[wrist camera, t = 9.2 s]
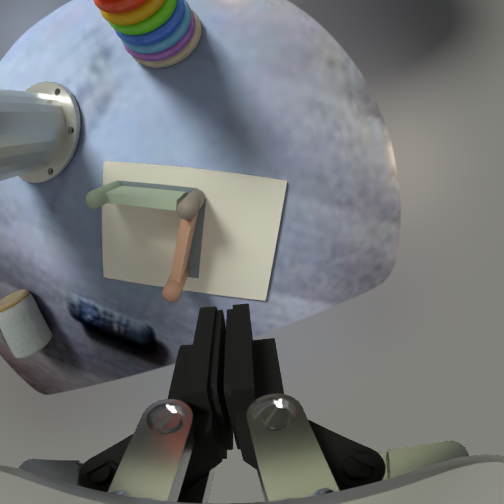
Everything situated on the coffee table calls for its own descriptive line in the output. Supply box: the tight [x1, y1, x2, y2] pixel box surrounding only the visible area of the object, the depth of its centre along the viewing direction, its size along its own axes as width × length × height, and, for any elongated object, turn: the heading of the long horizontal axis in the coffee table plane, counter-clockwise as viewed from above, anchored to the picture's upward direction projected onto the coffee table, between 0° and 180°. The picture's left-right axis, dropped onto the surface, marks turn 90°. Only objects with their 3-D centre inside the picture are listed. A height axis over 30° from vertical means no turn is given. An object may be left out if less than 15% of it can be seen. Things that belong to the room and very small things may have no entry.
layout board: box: [102, 161, 287, 301], centre depth 33 cm, size 20×14×1 cm
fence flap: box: [162, 189, 205, 302], centre depth 30 cm, size 10×2×6 cm, turn 165°
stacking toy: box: [94, 0, 201, 68], centre depth 17 cm, size 8×8×19 cm
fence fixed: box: [85, 182, 186, 211], centre depth 28 cm, size 9×2×6 cm, turn 82°
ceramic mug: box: [0, 289, 52, 358], centre depth 34 cm, size 11×8×8 cm
